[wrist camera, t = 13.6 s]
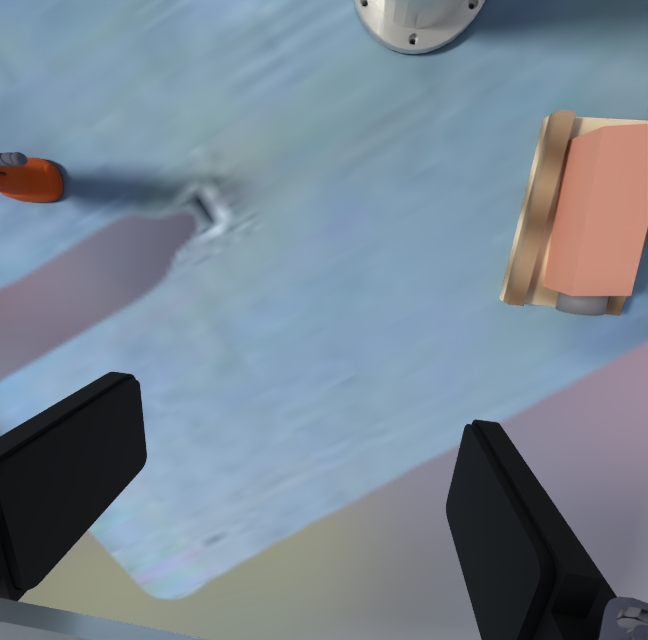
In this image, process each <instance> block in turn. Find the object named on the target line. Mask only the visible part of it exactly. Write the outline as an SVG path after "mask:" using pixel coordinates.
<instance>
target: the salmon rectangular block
mask: <svg viewBox="0 0 648 640" xmlns="http://www.w3.org/2000/svg"><path fill="white" fill-rule="evenodd" d="M647 228H648V124H632V125H616V126H603V127H601V128H598V129H596V130H593V131H591V132H588V133H586V134H583V135H581V136H578V137H576V138H573V139H571V140H568V143H567V147H566V151H565V155H564V161H563V167H562V173H561V180H560V186H559V192H558V198H557V204H556V210H555V216H554V223H553V229H552V235H551V241H550V247H549V253H548V260H547V266H546V272H545V278H544V284H543V286H544V287H547V288H550V289H553V290H555V291H558V297H557V302H556V309H557V310H559V311H562V312H566V313H571V314H578V315H603V314H605V313H606V308H607V304H608V299H609V296H631V294H632V290H633V286H634V282H635V277H636V273H637V269H638V265H639V261H640V257H641V253H642V249H643V244H644V240H645V236H646V232H647Z"/></svg>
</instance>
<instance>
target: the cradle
mask: <svg viewBox="0 0 648 640" xmlns="http://www.w3.org/2000/svg"><path fill="white" fill-rule="evenodd" d="M575 114H576V111H561V110H558V111H556V112H555V113H553V114H551V115H549V116H548V117H546V118H544V120H543V124H542V128H541V132H540V136H539V140H538V144H537V148H536V152H535V156H534V160H533V164H532V169H531V173H530V177H529V181H528V185H527V189H526V193H525V197H524V201H523V205H522V209H521V213H520V217H519V221H518V226H517V230H516V234H515V238H514V242H513V246H512V250H511V254H510V258H509V262H508V266H507V270H506V274H505V278H504V283H503V287H502V291H501V295H500V300H502V301H504V302H505V303H507V304H510V305H520V306H524V303H527V304H537V305H546V306H556V302H557V297H558V291H555V290H553V289H550V288H547V287H544V286H543V284H544V278H545V272H546V266H547V260H548V253H549V247H550V241H551V235H552V229H553V223H554V216H555V210H556V204H557V198H558V192H559V186H560V180H561V173H562V167H563V161H564V155H565V151H566V147H567V143H568V140H571V139H573V138H576V137H578V136H581V135H583V134H586V133H588V132H591V131H593V130H596V129H598V128H601V127H603V126H616V125H632V124H648V121H644V120H625V119H606V118H586V117H575ZM647 240H648V228H647V232H646V236H645V240H644V244H643V249H642V253H643V251H644V248H645V245H646V242H647ZM642 253H641V256H642ZM640 259H641V257H640ZM639 262H640V261H639ZM626 297H627V296H609V299H608V304H607V308H606V313H605V314H609V315H619V316H620V314H621V311H622V308H623V306H624V303H625V300H626Z"/></svg>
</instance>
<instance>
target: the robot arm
mask: <svg viewBox="0 0 648 640" xmlns="http://www.w3.org/2000/svg"><path fill="white" fill-rule="evenodd" d="M354 2H355V7H356V10H357V12H358V15H359V17H360V19H361V22H362V23H363V25H364V26H365V28H366V29H367V31H368V32H369V33H370V34H371V35H372V36H373V37H374V38H375V39H376V40H377V41H378V42H379V43H380V44H382V45H384V46H385V47H387V48H389V49H391V50H394V51H397V52H400V53H406V54H419V53H427V52H430V51H433V50H436V49H438V48H441V47H442V46H444V45H446V44H448V43H449V42H451V41H453V40H454V39H455V38H456V37H457V36H458V35H460V34H461V33H462V32H463V31H464V30H465V29H466V28H467V27H468V26H469V24H470V23H471V22H472V21H473V20H474V18H475V17H476V15H477V14H478V12H479V10H480V9H481V7H482V5H483V4H484V2H485V0H354ZM364 4H367V6H366V7H364V6H363V5H364ZM469 7H472V8H473V9H469ZM411 41H413V42H414V43H415V44H414V45H412V44H410V42H411ZM146 459H147V451H146V441H145V431H144V421H143V411H142V401H141V391H140V383H139V382H138V381H137V380H136V379H135V377H134V376H133V375H132V374H126V373H119V372H109V373H107V374H106V375H104V376H102V377H100V378H99V379H97V380H95V381H94V382H92V383H90V384H89V385H87V386H85V387H83V388H82V389H80V390H78V391H77V392H75V393H73V394H72V395H70V396H68V397H66V398H65V399H63V400H61V401H60V402H58V403H56V404H55V405H53V406H51V407H50V408H48V409H46V410H44V411H43V412H41V413H39V414H38V415H36V416H34V417H33V418H31V419H29V420H27V421H26V422H24V423H22V424H21V425H19V426H17V427H16V428H14V429H12V430H10V431H9V432H7V433H5V434H4V435H2V436H0V640H207V639H202V638H197V637H192V636H187V635H183V634H178V633H173V632H168V631H163V630H158V629H153V628H148V627H143V626H138V625H133V624H128V623H124V622H118V621H114V620H108V619H104V618H99V617H94V616H89V615H84V614H79V613H73V612H69V611H63V610H58V609H53V608H48V607H43V606H38V605H33V604H27V603H23V602H18V600H19V599H20V598H21V597H22V596H23V595H24V594H25V592H26V591H27V590H29V589H32V588H34V587H35V586H37V585H38V584H39V583H40V582H41V581H42V580H43V579H44V578H45V576H46V575H47V574H48V573H49V572H50V571H51V570H52V569H53V568H54V566H55V565H56V564H57V563H58V562H59V561H60V560H61V559H62V558H63V556H64V555H65V554H66V553H67V552H68V551H69V550H70V549H71V548H72V546H73V545H74V544H75V543H76V542H77V541H78V540H79V539H80V538H81V536H82V535H83V534H84V533H85V532H86V531H87V530H88V529H89V528H90V526H91V525H92V524H93V523H94V522H95V521H96V520H97V519H98V518H99V516H100V515H101V514H102V513H103V512H104V511H105V510H106V509H107V508H108V506H109V505H110V504H111V503H112V502H113V501H114V500H115V499H116V498H117V496H118V495H119V494H120V493H121V492H122V491H123V490H124V489H125V487H126V486H127V485H128V484H129V483H130V482H131V481H132V480H133V479H134V477H135V476H136V475H137V474H138V473H139V472H140V471H141V470H142V468H143V467H144V465H145V462H146ZM446 514H447V519H448V522H449V526H450V530H451V533H452V536H453V540H454V544H455V547H456V551H457V554H458V558H459V561H460V565H461V568H462V572H463V575H464V579H465V582H466V586H467V590H468V593H469V597H470V600H471V603H472V607H473V611H474V614H475V618H476V621H477V625H478V628H479V632H480V635H481V639H482V640H648V603H646V602H643V601H640V600H637V599H635V598H629V597H617V596H616V595H615V593H614V592H613V590H612V589H611V587H610V586H609V584H608V583H607V581H606V580H605V578H604V577H603V576H602V574H601V572H600V571H599V570H598V568H597V567H596V565H595V564H594V562H593V561H592V559H591V558H590V556H589V555H588V554H587V552H586V550H585V549H584V547H583V546H582V544H581V543H580V542H579V540H578V539H577V537H576V536H575V534H574V533H573V531H572V530H571V528H570V527H569V525H568V524H567V522H566V521H565V519H564V518H563V516H562V515H561V513H560V512H559V511H558V509H557V508H556V506H555V505H554V503H553V502H552V500H551V499H550V497H549V496H548V494H547V493H546V491H545V490H544V488H543V487H542V486H541V484H540V483H539V481H538V480H537V479H536V477H535V475H534V474H533V473H532V471H531V470H530V468H529V467H528V465H527V464H526V462H525V461H524V459H523V458H522V456H521V455H520V453H519V452H518V450H517V449H516V447H515V446H514V444H513V443H512V442H511V440H510V438H509V437H508V436H507V434H506V433H505V431H504V430H503V428H502V427H501V425H500V424H499V423H497V422H490V421H483V420H474V421H473V422H472V425H471V424H467V425H466V426H465V428H464V432H463V436H462V440H461V444H460V448H459V453H458V457H457V461H456V465H455V469H454V473H453V478H452V482H451V486H450V490H449V494H448V498H447V503H446Z"/></svg>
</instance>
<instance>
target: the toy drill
mask: <svg viewBox="0 0 648 640" xmlns="http://www.w3.org/2000/svg"><path fill="white" fill-rule="evenodd" d="M0 193H2V194H3V195H5V196H8V197H10V198H13V199H16V200H20V201H25V202H51V201H55V200H57V199H59V198H60V197H61V195H62V193H63V180H62V177H61V174H60V172H59V170H58V169H57V167H56V166H55V165H54V164H52V163H51V162H49V161H47V160H44V159H40V158H26V156H25V155H24V154H22V153H19V152H15V153H9V152H8V153H0Z"/></svg>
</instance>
